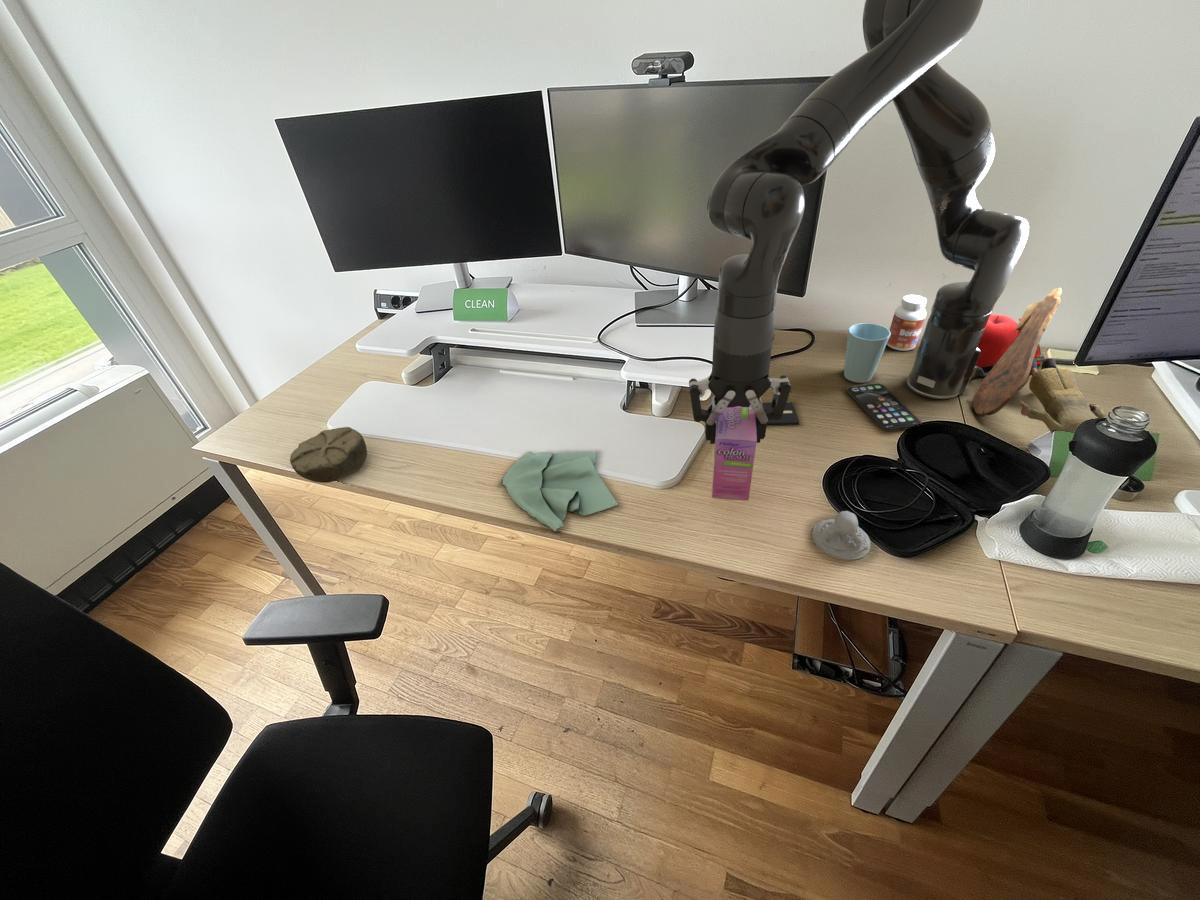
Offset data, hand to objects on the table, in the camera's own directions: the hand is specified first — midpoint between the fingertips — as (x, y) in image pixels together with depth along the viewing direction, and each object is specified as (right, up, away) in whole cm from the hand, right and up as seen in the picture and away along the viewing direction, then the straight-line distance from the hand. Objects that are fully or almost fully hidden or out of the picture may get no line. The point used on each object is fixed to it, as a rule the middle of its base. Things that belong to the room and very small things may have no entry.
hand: (734, 439), depth 79 cm
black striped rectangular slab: (+13, +5, +24) cm, 28 cm away
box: (+1, -6, +5) cm, 8 cm away
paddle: (+50, +5, +17) cm, 53 cm away
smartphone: (+35, +7, +23) cm, 42 cm away
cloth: (-27, -8, +13) cm, 31 cm away
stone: (-72, 0, +17) cm, 74 cm away
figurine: (+62, +13, +20) cm, 67 cm away
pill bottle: (+49, +22, +41) cm, 67 cm away
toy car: (+69, +21, +27) cm, 77 cm away
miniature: (+16, -15, -1) cm, 22 cm away
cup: (+35, +14, +33) cm, 50 cm away
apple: (+60, +17, +32) cm, 70 cm away
